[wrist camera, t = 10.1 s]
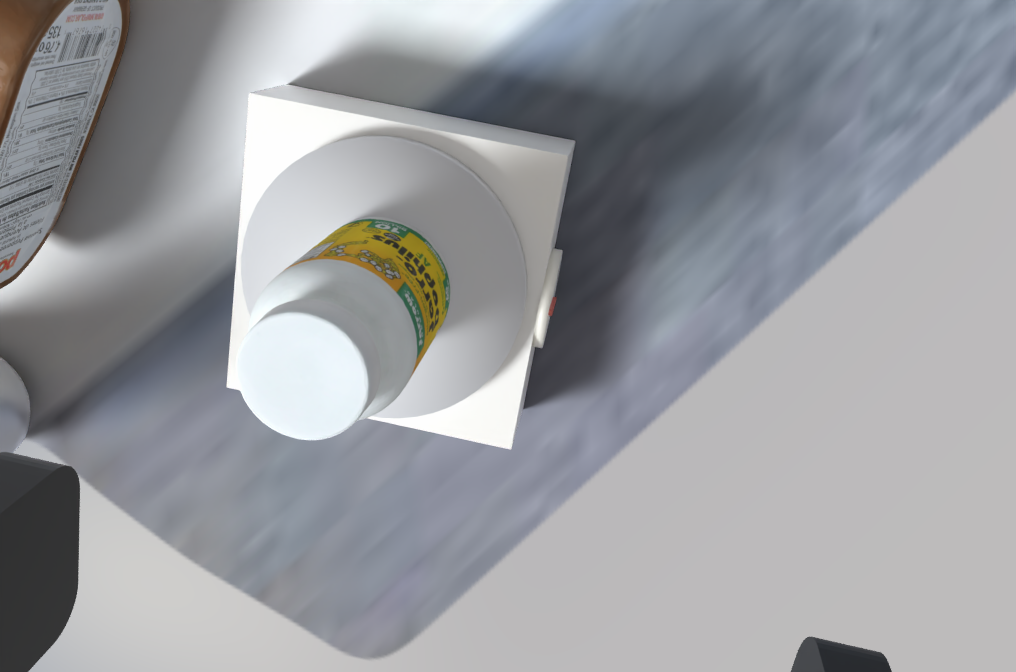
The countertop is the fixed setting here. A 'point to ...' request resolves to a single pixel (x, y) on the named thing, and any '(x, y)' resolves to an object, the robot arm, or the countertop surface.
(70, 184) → the tin
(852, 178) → the countertop surface
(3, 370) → the plastic bottle
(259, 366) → the supplement bottle
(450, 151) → the kitchen scale
